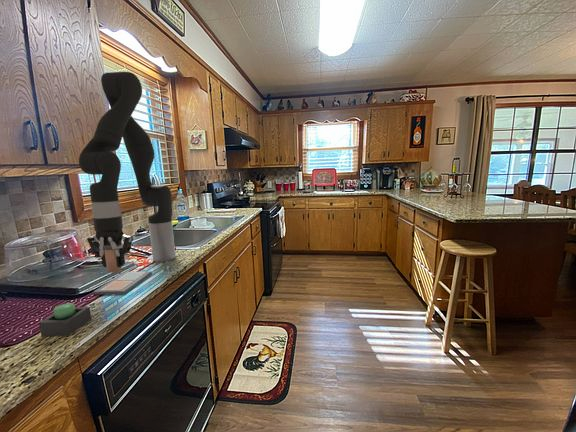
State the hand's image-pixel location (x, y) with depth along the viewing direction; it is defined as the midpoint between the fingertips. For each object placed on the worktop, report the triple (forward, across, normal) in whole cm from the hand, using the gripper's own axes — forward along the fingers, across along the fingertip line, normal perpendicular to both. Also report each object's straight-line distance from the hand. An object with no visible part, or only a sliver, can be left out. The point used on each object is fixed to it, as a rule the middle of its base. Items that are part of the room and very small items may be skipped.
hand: (114, 266), depth 82 cm
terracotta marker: (+1, 0, 0) cm, 1 cm away
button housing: (+8, -2, +21) cm, 22 cm away
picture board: (+8, 0, -4) cm, 9 cm away
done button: (+5, -2, +21) cm, 21 cm away
